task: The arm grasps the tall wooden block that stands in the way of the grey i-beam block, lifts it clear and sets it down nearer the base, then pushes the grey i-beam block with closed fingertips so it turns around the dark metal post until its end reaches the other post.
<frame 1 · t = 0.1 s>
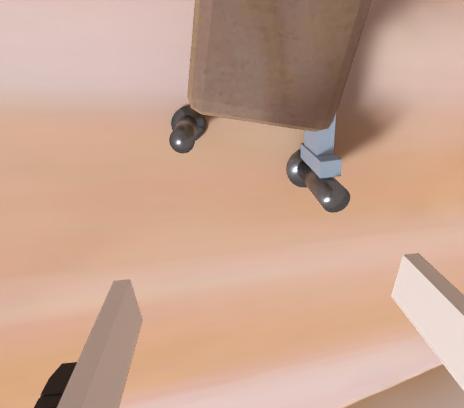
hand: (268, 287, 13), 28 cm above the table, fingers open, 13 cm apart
wooden block: (244, 51, 33), on the table
gate posts: (306, 167, 41), on the table
grey i-beam block: (324, 94, 32), point 5 cm above the table, hinge at 0.0°
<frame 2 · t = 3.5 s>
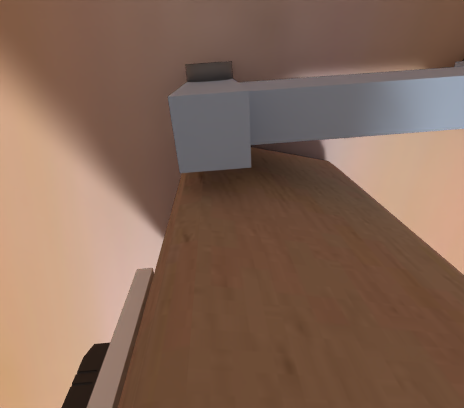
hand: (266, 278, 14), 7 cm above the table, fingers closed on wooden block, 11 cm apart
wooden block: (249, 209, 20), on the table, touching gripper
grey i-beam block: (374, 91, 12), point 5 cm above the table, hinge at 0.0°
when the fingers open (9 cm above the table, at t = 9.2 s): wooden block drops 1 cm, on the table.
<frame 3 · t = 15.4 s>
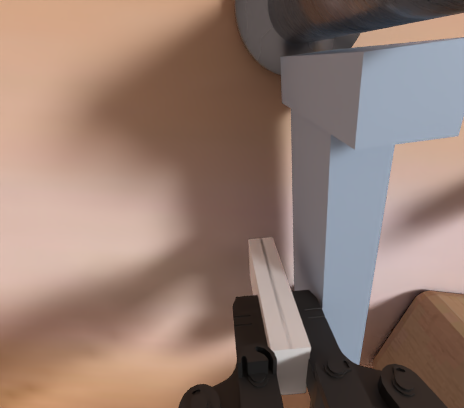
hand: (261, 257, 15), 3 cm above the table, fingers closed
wooden block: (438, 330, 24), on the table
gate posts: (300, 4, 12), on the table
grey i-beam block: (319, 255, 13), point 5 cm above the table, hinge at 4.2°, touching gripper
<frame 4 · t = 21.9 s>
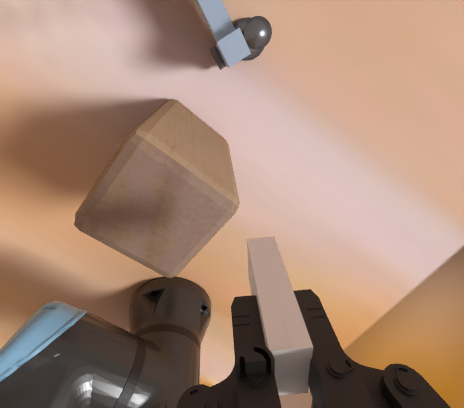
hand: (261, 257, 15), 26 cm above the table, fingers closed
wooden block: (181, 147, 39), on the table
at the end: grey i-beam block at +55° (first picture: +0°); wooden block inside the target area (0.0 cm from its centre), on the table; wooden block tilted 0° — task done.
